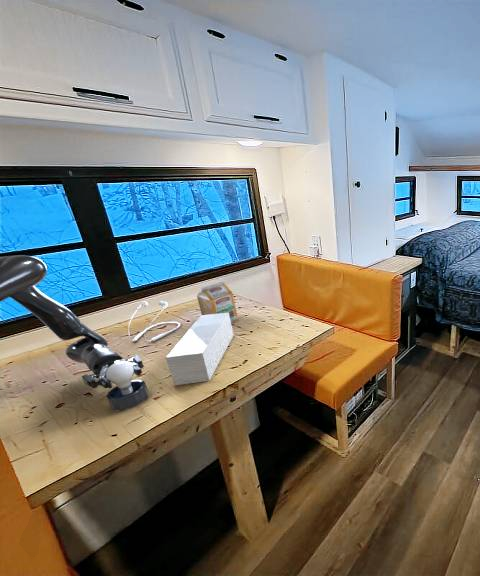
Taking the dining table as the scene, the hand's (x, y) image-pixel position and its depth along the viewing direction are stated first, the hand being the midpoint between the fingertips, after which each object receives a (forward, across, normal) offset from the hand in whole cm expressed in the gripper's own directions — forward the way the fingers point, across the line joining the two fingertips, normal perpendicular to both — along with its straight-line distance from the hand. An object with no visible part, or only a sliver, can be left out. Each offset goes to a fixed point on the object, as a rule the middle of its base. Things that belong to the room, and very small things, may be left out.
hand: (124, 378), depth 89 cm
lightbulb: (-2, 0, +7) cm, 7 cm away
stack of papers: (-6, +26, +9) cm, 28 cm away
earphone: (-45, +24, +9) cm, 52 cm away
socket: (-2, 0, +9) cm, 9 cm away
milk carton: (-30, +45, +9) cm, 55 cm away
